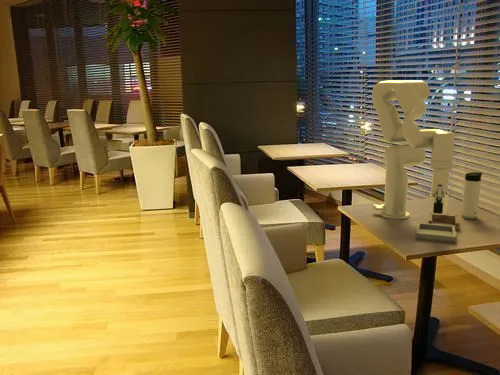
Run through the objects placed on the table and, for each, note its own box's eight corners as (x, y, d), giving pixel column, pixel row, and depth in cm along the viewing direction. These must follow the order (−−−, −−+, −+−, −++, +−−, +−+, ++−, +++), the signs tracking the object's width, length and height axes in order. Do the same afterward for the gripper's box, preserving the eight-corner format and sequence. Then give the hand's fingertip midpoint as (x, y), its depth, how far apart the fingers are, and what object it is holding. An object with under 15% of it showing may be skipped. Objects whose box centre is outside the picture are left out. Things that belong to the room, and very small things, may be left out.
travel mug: (479, 219, 205) (484, 174, 200) (463, 218, 206) (467, 173, 202) (475, 215, 211) (480, 171, 206) (459, 214, 212) (464, 170, 208)
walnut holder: (428, 227, 195) (428, 220, 194) (428, 219, 206) (429, 213, 205) (458, 230, 191) (459, 223, 190) (457, 222, 202) (457, 215, 201)
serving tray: (415, 239, 181) (416, 233, 181) (416, 228, 194) (417, 222, 194) (455, 243, 176) (456, 237, 176) (454, 232, 189) (454, 226, 189)
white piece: (425, 210, 186) (426, 193, 184) (442, 210, 187) (443, 192, 185) (433, 215, 179) (434, 197, 178) (450, 215, 180) (452, 197, 178)
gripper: (430, 160, 188) (427, 204, 192) (430, 168, 172) (427, 216, 176) (451, 161, 185) (447, 206, 189) (452, 169, 170) (448, 217, 174)
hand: (437, 210), depth 183 cm, fingers closed on white piece, 5 cm apart
